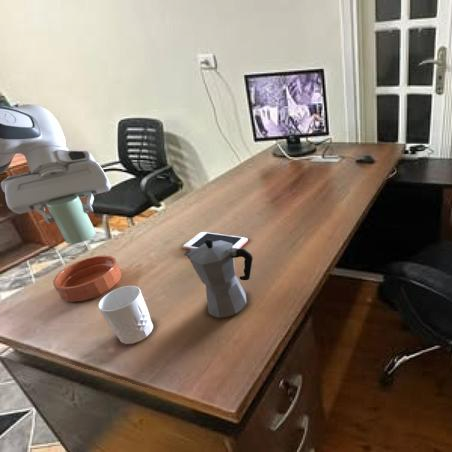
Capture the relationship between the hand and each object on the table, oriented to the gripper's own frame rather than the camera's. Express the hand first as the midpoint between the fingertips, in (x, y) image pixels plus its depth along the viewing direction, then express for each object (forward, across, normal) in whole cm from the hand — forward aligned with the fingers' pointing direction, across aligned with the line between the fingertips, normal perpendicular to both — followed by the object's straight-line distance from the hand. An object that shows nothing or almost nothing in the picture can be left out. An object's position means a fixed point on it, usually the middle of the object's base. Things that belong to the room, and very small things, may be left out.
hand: (70, 216), depth 82 cm
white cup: (+32, +4, -1) cm, 32 cm away
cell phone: (+14, +30, +17) cm, 37 cm away
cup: (+4, 0, +5) cm, 6 cm away
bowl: (+13, -3, +18) cm, 22 cm away
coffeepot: (+35, +25, -4) cm, 43 cm away
